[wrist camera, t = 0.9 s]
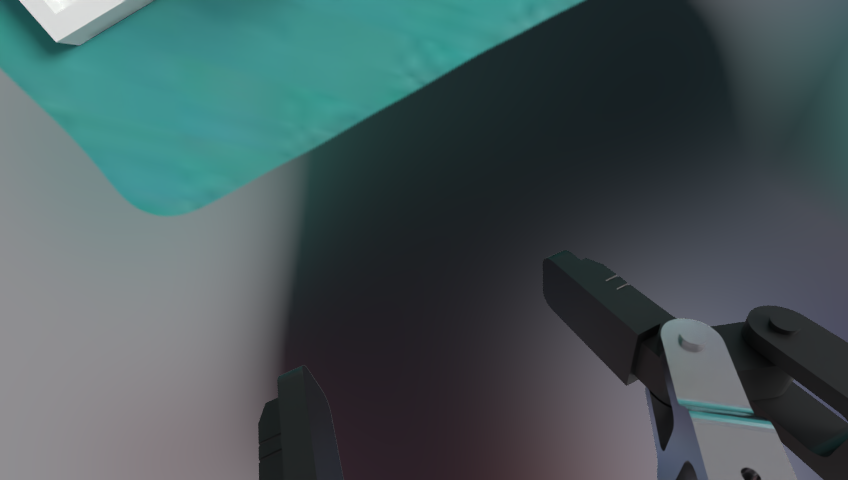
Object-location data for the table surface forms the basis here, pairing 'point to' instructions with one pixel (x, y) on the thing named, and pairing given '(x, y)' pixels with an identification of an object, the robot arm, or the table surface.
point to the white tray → (80, 16)
